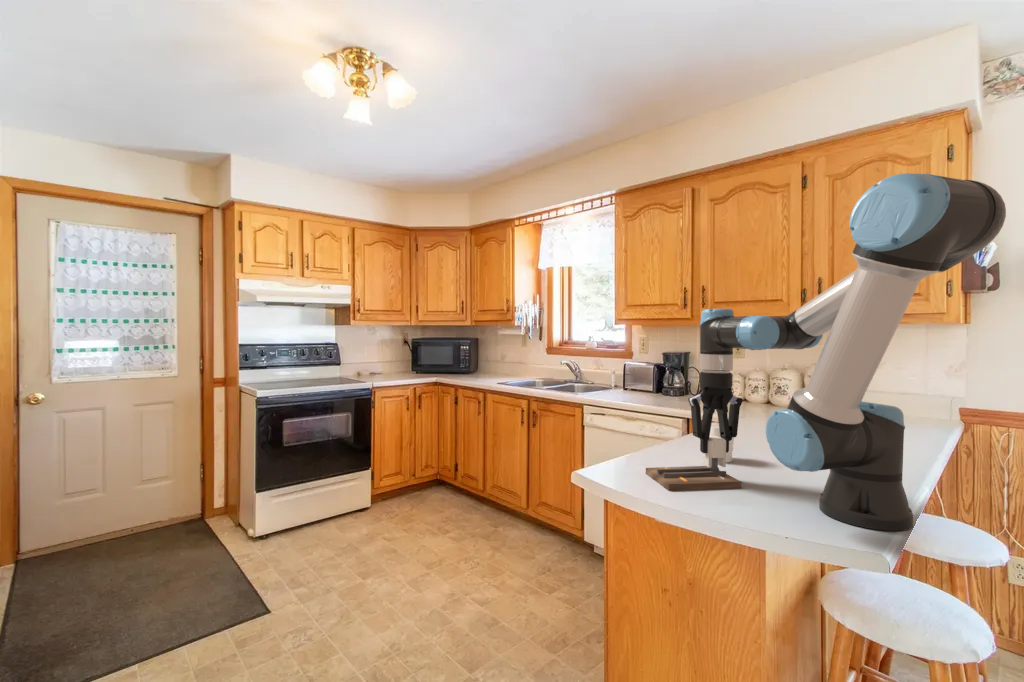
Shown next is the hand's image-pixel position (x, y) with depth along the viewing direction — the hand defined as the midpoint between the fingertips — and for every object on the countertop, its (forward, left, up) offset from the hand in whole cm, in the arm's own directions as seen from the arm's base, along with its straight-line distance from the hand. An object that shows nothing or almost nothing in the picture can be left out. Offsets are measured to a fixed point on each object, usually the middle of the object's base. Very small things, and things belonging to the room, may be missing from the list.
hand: (714, 465), depth 118 cm
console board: (0, +6, -4) cm, 7 cm away
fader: (0, 0, -2) cm, 2 cm away
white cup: (+17, -12, -4) cm, 21 cm away
